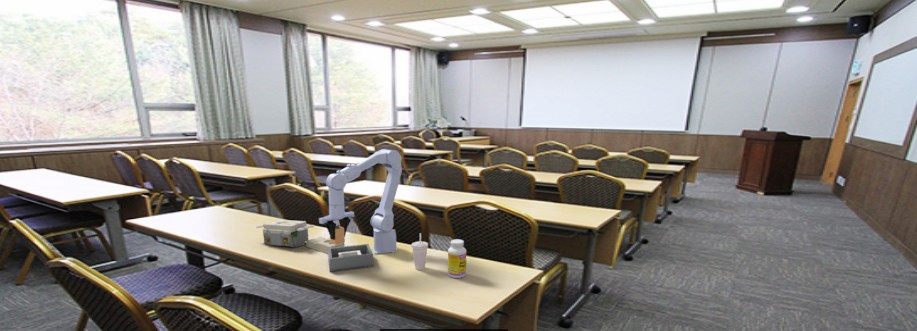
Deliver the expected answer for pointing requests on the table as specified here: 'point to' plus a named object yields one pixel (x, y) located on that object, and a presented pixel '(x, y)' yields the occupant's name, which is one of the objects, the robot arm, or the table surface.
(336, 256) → the bay
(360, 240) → the table surface
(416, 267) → the smoothie
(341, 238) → the plug
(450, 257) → the supplement bottle
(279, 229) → the grey latched case
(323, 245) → the electrical outlet
